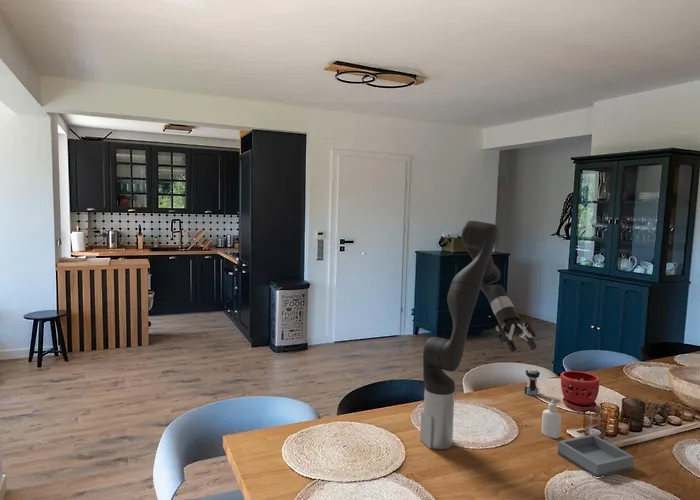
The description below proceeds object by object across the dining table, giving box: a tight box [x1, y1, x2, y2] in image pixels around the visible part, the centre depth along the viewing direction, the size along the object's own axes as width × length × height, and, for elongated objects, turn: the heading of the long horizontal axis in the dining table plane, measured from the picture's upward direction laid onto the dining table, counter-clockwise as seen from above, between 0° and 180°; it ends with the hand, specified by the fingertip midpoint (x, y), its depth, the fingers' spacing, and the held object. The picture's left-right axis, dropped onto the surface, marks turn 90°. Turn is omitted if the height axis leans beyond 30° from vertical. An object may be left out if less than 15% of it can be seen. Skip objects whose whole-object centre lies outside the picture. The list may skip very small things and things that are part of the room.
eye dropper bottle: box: [540, 399, 562, 439], centre depth 155 cm, size 4×6×12 cm
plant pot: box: [560, 370, 600, 412], centre depth 179 cm, size 13×13×12 cm
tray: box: [557, 434, 635, 478], centre depth 139 cm, size 14×14×4 cm
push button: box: [524, 367, 541, 396], centre depth 190 cm, size 7×5×10 cm
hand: (524, 350), depth 166 cm, fingers open, 8 cm apart
